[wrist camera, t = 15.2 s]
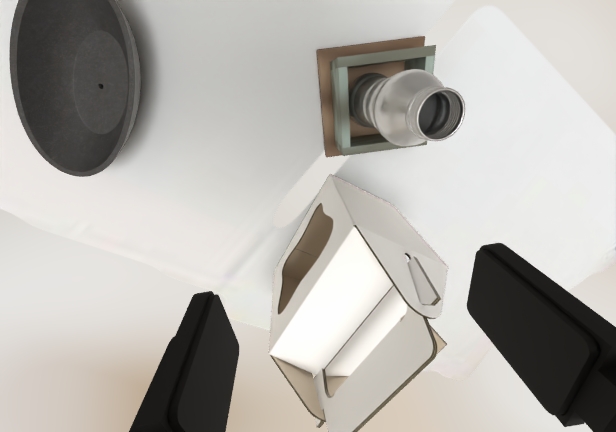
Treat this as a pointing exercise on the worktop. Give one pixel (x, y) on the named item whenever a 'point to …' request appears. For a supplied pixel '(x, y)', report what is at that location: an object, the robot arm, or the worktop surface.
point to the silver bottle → (406, 106)
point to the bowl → (75, 80)
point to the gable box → (354, 306)
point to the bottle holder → (345, 70)
